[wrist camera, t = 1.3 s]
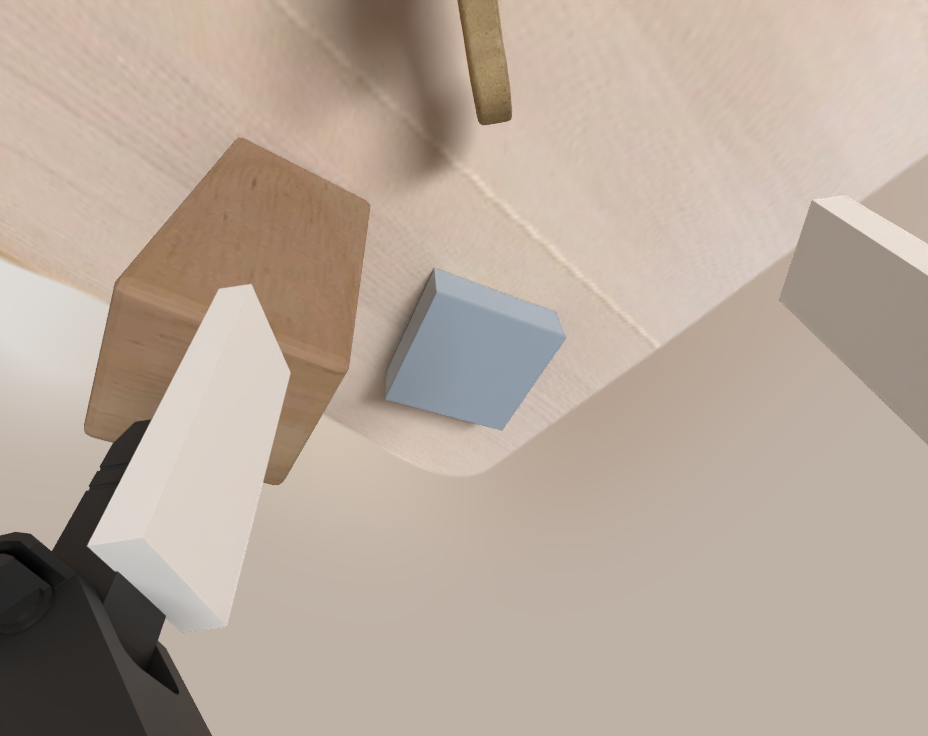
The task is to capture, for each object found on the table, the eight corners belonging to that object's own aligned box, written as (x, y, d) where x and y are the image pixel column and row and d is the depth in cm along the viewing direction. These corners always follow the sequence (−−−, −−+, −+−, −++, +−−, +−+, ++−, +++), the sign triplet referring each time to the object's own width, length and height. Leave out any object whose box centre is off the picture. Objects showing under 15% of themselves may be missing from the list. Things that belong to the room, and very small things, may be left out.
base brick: (386, 371, 50) (385, 399, 47) (434, 267, 43) (436, 292, 40) (496, 402, 54) (501, 430, 51) (555, 312, 47) (566, 337, 44)
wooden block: (238, 132, 36) (111, 278, 20) (372, 201, 40) (352, 368, 24) (201, 250, 41) (77, 437, 25) (323, 300, 45) (280, 490, 29)
